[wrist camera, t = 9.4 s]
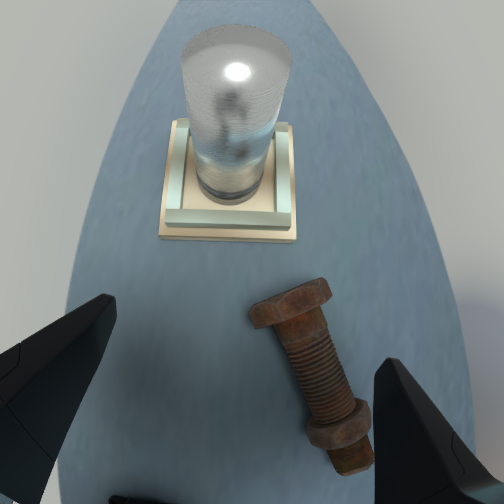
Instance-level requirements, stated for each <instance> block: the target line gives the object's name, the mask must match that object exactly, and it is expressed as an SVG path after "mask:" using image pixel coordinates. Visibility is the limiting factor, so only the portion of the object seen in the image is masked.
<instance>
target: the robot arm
mask: <svg viewBox="0 0 504 504" xmlns="http://www.w3.org/2000/svg"><path fill="white" fill-rule="evenodd" d="M116 318H117V311H116V300H115V297H114V296H111V295H108V294H101V295H99V296H97V297H95V298H94V299H92V300H90V301H88V302H87V303H85V304H83V305H82V306H80V307H78V308H76V309H75V310H73V311H71V312H70V313H68V314H66V315H65V316H63V317H61V318H60V319H58V320H56V321H55V322H53V323H51V324H49V325H48V326H46V327H44V328H43V329H41V330H39V331H38V332H36V333H35V334H33V335H31V336H29V337H28V338H26V339H25V340H23V341H21V343H18V344H16V345H15V346H13V347H12V348H10V349H8V350H6V351H5V352H3V353H1V354H0V504H12V503H13V501H15V502H17V503H19V504H40V501H41V498H42V495H43V493H44V490H45V487H46V484H47V482H48V479H49V477H50V474H51V472H52V469H53V466H54V464H55V463H54V462H55V461H56V459H57V456H58V454H59V451H60V449H61V446H62V444H63V442H64V439H65V437H66V435H67V432H68V430H69V428H70V426H71V423H72V421H73V419H74V417H75V414H76V412H77V410H78V408H79V406H80V403H81V401H82V399H83V397H84V395H85V393H86V391H87V388H88V386H89V384H90V382H91V380H92V378H93V376H94V374H95V372H96V370H97V368H98V366H99V364H100V362H101V359H102V357H103V354H104V351H105V349H106V346H107V343H108V341H109V338H110V335H111V333H112V330H113V327H114V325H115V322H116ZM373 430H374V458H375V503H374V504H504V483H503V482H501V481H499V480H497V479H495V478H494V477H493V476H492V475H491V474H490V473H489V472H488V471H487V469H486V468H485V467H484V466H483V465H482V464H481V462H480V461H479V460H478V459H477V458H476V457H475V456H474V454H473V453H472V452H471V451H470V450H469V449H468V447H467V446H466V445H465V444H464V442H463V441H462V440H461V438H460V437H459V436H458V434H457V433H456V432H455V431H453V428H452V426H451V425H450V424H449V423H448V421H447V420H446V419H445V417H444V416H443V415H442V413H441V412H440V411H439V409H438V408H437V407H436V406H435V404H434V403H433V402H432V400H431V399H430V398H429V397H428V395H427V394H426V393H425V391H424V390H423V389H422V388H421V386H420V385H419V384H418V383H417V381H416V380H415V379H414V377H413V376H412V375H411V374H410V372H409V371H408V370H407V369H406V367H405V366H404V365H403V364H402V363H401V361H400V360H399V359H397V358H387V359H386V360H385V361H384V362H383V363H382V365H381V366H380V367H379V369H378V370H377V371H376V373H375V377H374V401H373ZM113 500H115V501H116V502H114V501H113ZM108 502H109V504H162V503H158V502H151V501H144V500H138V499H132V498H129V499H128V498H123V497H118V496H111V497H110V498H109V500H108Z"/></svg>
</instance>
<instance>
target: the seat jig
mask: <svg viewBox="0 0 504 504" xmlns="http://www.w3.org/2000/svg"><path fill="white" fill-rule="evenodd" d="M159 236H160V238H161V239H171V240H206V241H237V242H267V243H294V242H295V240H296V208H295V180H294V158H293V139H292V125H288V123H287V122H276V125H275V129H274V133H273V136H272V140H271V144H270V147H269V151H268V155H267V159H266V162H265V166H264V173H263V176H262V180H261V184H260V187H259V189H258V191H257V192H256V194H255V195H254V196H253V197H252V198H250V199H249V200H248V201H246V202H244V203H241V204H238V205H231V206H227V205H221V204H217V203H215V202H213V201H211V200H209V199H208V198H207V197H206V196H205V195H204V194H203V193H202V191H201V190H200V188H199V185H198V181H197V175H196V169H195V158H194V151H193V145H192V138H191V131H190V124H189V118H177V121H173V124H172V130H171V136H170V143H169V150H168V157H167V164H166V171H165V179H164V187H163V196H162V205H161V214H160V225H159Z"/></svg>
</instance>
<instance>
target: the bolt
mask: <svg viewBox="0 0 504 504" xmlns="http://www.w3.org/2000/svg"><path fill="white" fill-rule="evenodd" d="M331 297H332V292H331V290H330V288H329V285H328V283H327V281H326V280H325V279H324V278H323V277H320V278H317V279H315V280H312V281H309V282H307V283H305V284H302V285H300V286H298V287H295V288H293V289H291V290H288V291H286V292H284V293H281V294H278V295H276V296H274V297H271V298H269V299H267V300H264V301H262V302H260V303H257V304H255V305H253V307H252V308H251V310H250V313H249V315H250V317H251V320H252V322H253V325H254V327H255V329H259V328H263V327H266V326H270V325H273V326H274V328H275V331H276V333H277V335H278V338H279V340H280V343H281V344H282V345H283V346H284V348H285V349H286V350H285V351H286V353H288V355H287V356H288V357H290V358H289V361H290V362H292V363H291V366H294V367H293V370H294V371H295V372H294V373H295V375H297V376H296V378H297V379H298V383H299V384H300V387H302V388H301V389H302V391H303V395H305V399H306V401H307V403H308V406H309V407H310V410H311V413H312V416H311V417H310V419H309V420H308V424H307V430H306V434H307V436H308V438H309V440H310V443H311V444H312V445H314V446H316V447H318V448H321V449H327V451H328V453H329V456H330V459H331V461H332V463H333V465H334V468H335V470H337V471H336V472H337V473H339V474H340V475H342V476H348V475H352V474H355V473H358V472H362V471H365V470H367V469H369V468H370V467H371V465H372V464H373V463H374V461H375V460H373V459H374V452H373V450H372V446H371V444H370V441H369V439H368V435H367V433H368V431H369V429H370V428H371V412H370V409H369V406H368V403H367V401H364V400H361V399H358V398H354V397H353V393H352V390H351V389H350V386H349V383H348V381H347V378H346V375H345V373H344V370H343V368H342V365H341V364H340V361H339V358H338V357H337V353H336V352H335V351H336V349H335V348H334V344H333V343H332V339H330V338H331V336H330V335H329V331H328V328H327V322H326V320H325V317H324V315H323V312H322V310H321V307H320V305H322V304H324V303H326V302H327V301H328V300H329V299H330V298H331Z"/></svg>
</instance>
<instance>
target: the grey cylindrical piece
mask: <svg viewBox="0 0 504 504" xmlns="http://www.w3.org/2000/svg"><path fill="white" fill-rule="evenodd" d="M181 64H182V72H183V80H184V88H185V95H186V103H187V110H188V117H189V124H190V131H191V138H192V145H193V151H194V158H195V169H196V175H197V181H198V185H199V188H200V190H201V191H202V193H203V194H204V195H205V196H206V197H207V198H208V199H209V200H211V201H213V202H215V203H217V204H221V205H227V206H231V205H238V204H241V203H244V202H246V201H248V200H249V199H250V198H252V197H253V196H254V195H255V194H256V192H257V191H258V189H259V187H260V184H261V180H262V176H263V173H264V166H265V162H266V159H267V155H268V151H269V147H270V144H271V140H272V136H273V133H274V129H275V125H276V121H277V118H278V114H279V110H280V107H281V103H282V99H283V96H284V92H285V88H286V85H287V81H288V77H289V74H290V70H291V66H292V56H291V53H290V51H289V49H288V47H287V46H286V44H285V43H284V42H283V41H282V40H281V39H279V38H278V37H277V36H275V35H274V34H272V33H270V32H268V31H266V30H263V29H261V28H257V27H253V26H248V25H238V24H233V25H222V26H217V27H213V28H210V29H207V30H205V31H202V32H200V33H199V34H197V35H195V36H194V37H193V38H192V39H190V41H189V42H188V43H187V44H186V45H185V47H184V49H183V51H182V55H181Z"/></svg>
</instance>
